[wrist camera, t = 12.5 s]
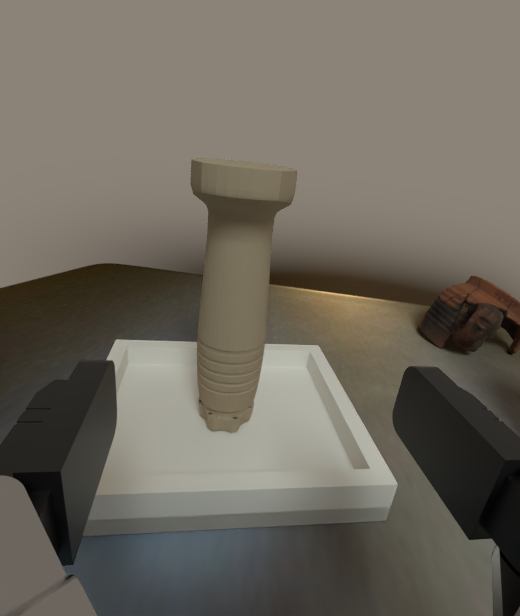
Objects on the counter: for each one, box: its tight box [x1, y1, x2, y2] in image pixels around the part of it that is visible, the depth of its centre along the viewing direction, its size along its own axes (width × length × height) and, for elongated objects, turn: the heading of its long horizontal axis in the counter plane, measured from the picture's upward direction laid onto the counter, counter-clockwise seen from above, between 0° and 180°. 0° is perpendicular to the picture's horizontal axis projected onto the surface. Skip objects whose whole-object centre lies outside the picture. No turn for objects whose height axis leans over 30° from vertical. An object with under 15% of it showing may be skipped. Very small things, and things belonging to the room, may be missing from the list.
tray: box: [83, 340, 398, 536], centre depth 24 cm, size 16×14×2 cm
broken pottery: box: [418, 276, 520, 354], centre depth 39 cm, size 12×9×8 cm
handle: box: [191, 158, 297, 433], centre depth 20 cm, size 5×6×15 cm
